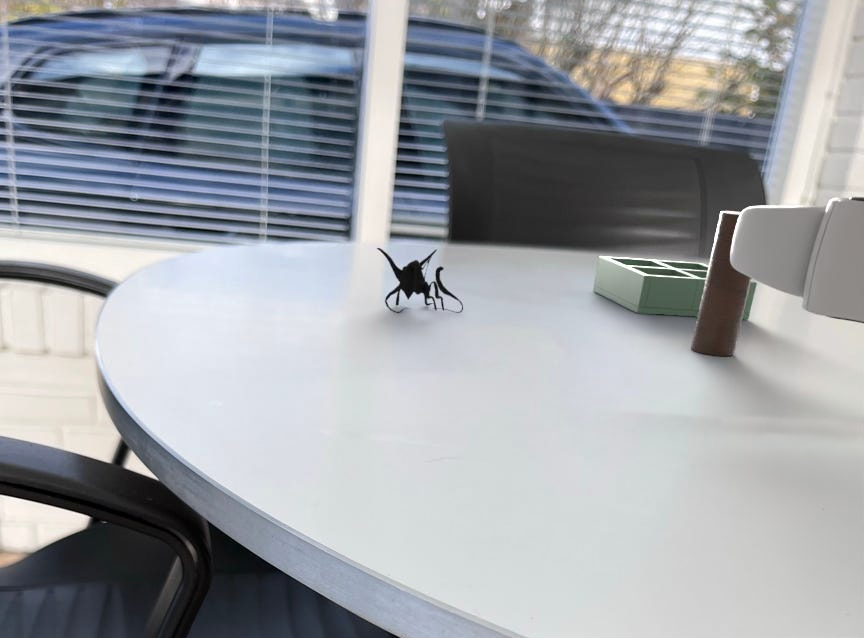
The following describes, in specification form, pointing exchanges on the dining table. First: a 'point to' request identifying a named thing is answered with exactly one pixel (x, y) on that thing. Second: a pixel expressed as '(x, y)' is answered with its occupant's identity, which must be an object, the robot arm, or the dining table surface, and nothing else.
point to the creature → (416, 282)
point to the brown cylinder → (721, 295)
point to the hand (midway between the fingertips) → (825, 236)
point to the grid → (656, 285)
